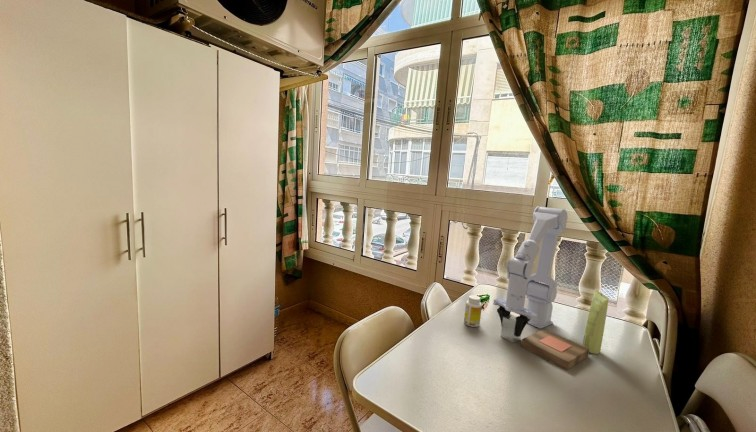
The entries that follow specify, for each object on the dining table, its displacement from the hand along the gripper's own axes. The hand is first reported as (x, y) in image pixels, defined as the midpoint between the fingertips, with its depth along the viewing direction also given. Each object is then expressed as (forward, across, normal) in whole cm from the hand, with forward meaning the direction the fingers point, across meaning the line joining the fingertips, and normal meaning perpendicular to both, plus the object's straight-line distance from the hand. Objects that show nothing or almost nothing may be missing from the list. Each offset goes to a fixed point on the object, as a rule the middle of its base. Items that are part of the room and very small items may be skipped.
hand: (511, 332), depth 106 cm
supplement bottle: (+2, -13, -4) cm, 14 cm away
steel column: (+2, 0, 0) cm, 2 cm away
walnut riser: (+2, +12, +5) cm, 13 cm away
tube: (+2, +18, +17) cm, 25 cm away
